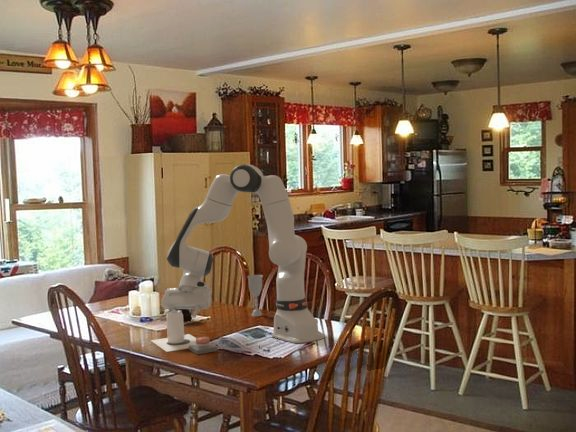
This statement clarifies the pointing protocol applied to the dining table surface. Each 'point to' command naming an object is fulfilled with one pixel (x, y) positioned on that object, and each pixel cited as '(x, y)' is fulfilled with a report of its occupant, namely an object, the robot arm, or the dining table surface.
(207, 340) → the button
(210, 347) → the button base
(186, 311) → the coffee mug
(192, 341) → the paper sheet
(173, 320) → the can
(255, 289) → the chalice
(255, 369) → the dining table surface
